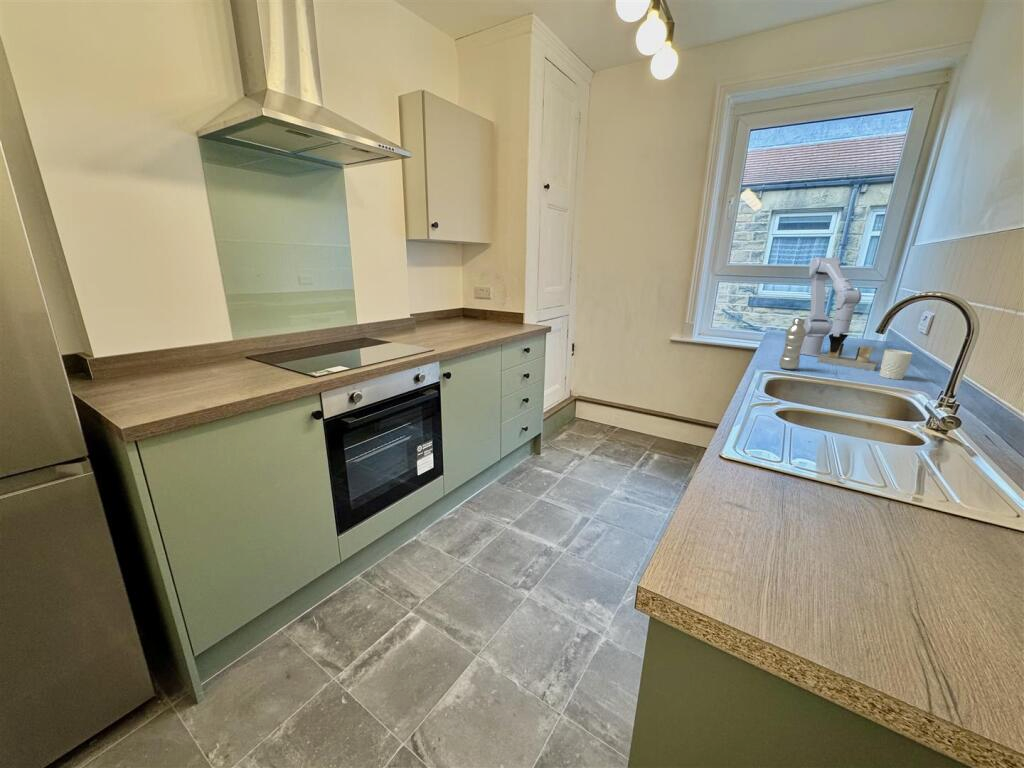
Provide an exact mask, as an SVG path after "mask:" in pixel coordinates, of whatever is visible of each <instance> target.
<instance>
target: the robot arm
mask: <svg viewBox="0 0 1024 768" xmlns="http://www.w3.org/2000/svg"><path fill="white" fill-rule="evenodd" d="M841 265H842V262H841V260H840V258H839V257H819V256H816V257H814V258H813V259H812V260H811V262H810V264H809V266H808V267H809V269H808V270H809V271H808V272H809V278H810V279H811V280H810V286H811V287H810V315H808V316H806V317H805V318H804V319H805V322H804V324H803V327H804V328H805V331H806V336H805V338H804V340H803V343H802V346H801V350H800V355H804V354H805V356H813V357H817V358H818V356H821V354H823V353H821V350H822V346H823V343H824V338H825V337H827V336H828V338H829V348H830V352H837V351H838V349H839V347H840V345H841V343H842V342H843V343H844V341H845V340H846V339H847V337H848V336H849V334H852V332H853V331H852V330H850V327H851V323H852V320H853V316H854V312H855V309H856V305H858V304H859V303H860V302H861V300H862V295H863V294H862V292H861V291H860V290H858V289H856V288H854V287H853V284H852V283H851V281H850V279H849V278H847V277H845V276H844V275H843V272H842V270H841ZM828 279H831V280H832V281H833V283H832V288H833V290H834V291H835V294H836V297H835V303H836V304H835V308H836V311H835V314H834V319H833V322H832V323H831V318H830V316H828V315H826V313H825V311H826V310H825V309H826V308H825V306H826V305H825V304H826V301H825V300H826V292H825V291H826V280H828ZM831 332H832V333H831ZM830 333H831V334H830Z"/></svg>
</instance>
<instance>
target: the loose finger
mask: <svg viewBox="0 0 1024 768" xmlns="http://www.w3.org/2000/svg"><path fill="white" fill-rule="evenodd" d="M844 346H845V343H844V341H843V342H842V343H841V345H840V347H839V349H838V351H837V352H830V347H829V348H828V353H827V354H828V356H827V357H832V358H839V356H842V353H843V349H844Z"/></svg>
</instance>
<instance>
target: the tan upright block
mask: <svg viewBox="0 0 1024 768" xmlns="http://www.w3.org/2000/svg"><path fill="white" fill-rule="evenodd" d="M872 351H873V346H864V345H862V346H859V347H857V352H856V356H855V358H856V359H855V360H857V361H859V362H866V363H868V362H869V361H870V358H871V354H872Z"/></svg>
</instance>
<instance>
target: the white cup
mask: <svg viewBox="0 0 1024 768" xmlns="http://www.w3.org/2000/svg"><path fill="white" fill-rule="evenodd" d="M913 355H914V353H913V352H911V351H906V350H899V349H884V351H883V356H882V360H881V365H880V370H879V374H878V376H879V375H880V377H881V376H882V378H884V377H885V378H886V379H889V378H891V380H897V379H900V380H903V379H904V377H905V373H906V372H907V370H908V367H909V366H910V363H911V359H912V357H913ZM885 378H884V379H885Z"/></svg>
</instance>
